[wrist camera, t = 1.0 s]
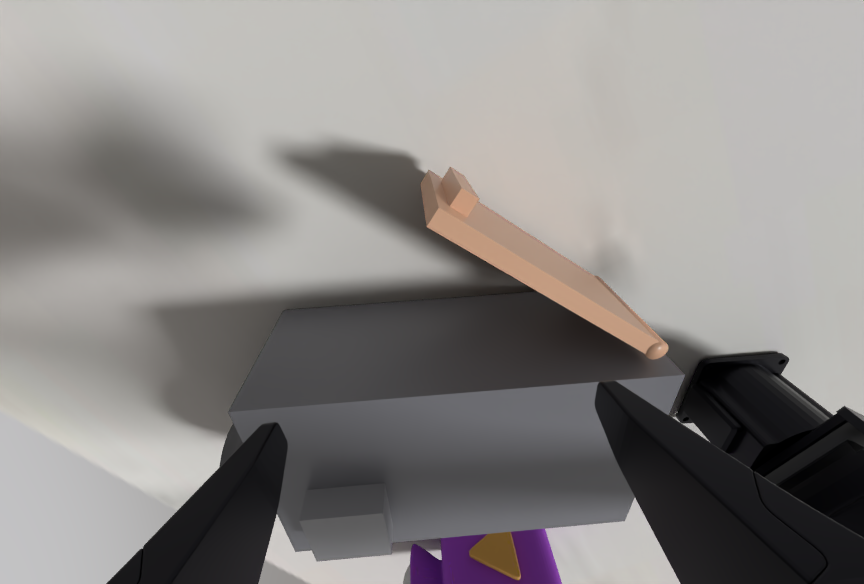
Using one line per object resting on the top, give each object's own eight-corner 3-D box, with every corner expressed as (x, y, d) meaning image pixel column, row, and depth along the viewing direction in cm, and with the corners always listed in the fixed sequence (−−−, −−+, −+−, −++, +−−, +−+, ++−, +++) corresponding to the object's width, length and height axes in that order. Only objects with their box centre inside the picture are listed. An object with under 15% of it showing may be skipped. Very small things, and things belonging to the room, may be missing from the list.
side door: (613, 271, 21) (685, 336, 16) (592, 292, 22) (655, 362, 16) (437, 155, 17) (451, 187, 12) (419, 185, 18) (425, 229, 12)
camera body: (600, 287, 23) (710, 400, 14) (572, 416, 29) (638, 548, 21) (234, 313, 22) (132, 449, 14) (284, 440, 28) (233, 587, 20)
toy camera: (389, 511, 34) (384, 656, 25) (529, 478, 33) (574, 618, 24) (423, 561, 39) (428, 695, 31) (545, 535, 38) (586, 666, 29)
